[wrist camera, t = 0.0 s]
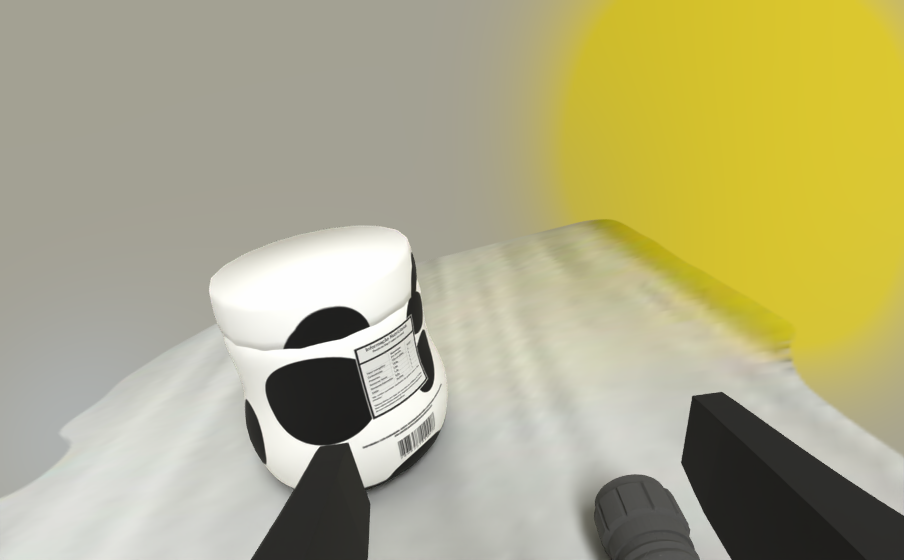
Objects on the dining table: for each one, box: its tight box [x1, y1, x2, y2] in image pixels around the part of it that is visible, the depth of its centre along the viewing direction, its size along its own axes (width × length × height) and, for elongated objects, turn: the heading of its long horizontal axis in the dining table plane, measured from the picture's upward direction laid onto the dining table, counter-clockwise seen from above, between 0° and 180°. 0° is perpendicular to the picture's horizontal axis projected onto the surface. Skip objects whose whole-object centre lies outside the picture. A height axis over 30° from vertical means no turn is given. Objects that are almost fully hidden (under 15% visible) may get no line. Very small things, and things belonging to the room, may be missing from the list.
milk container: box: [209, 226, 447, 489], centre depth 39 cm, size 17×17×18 cm
